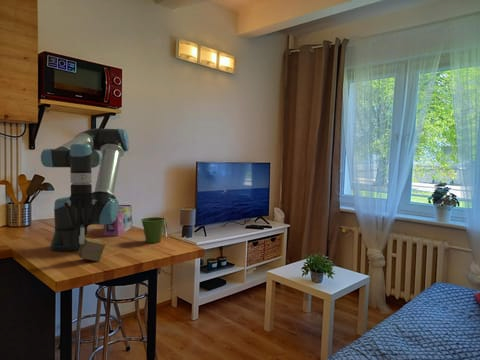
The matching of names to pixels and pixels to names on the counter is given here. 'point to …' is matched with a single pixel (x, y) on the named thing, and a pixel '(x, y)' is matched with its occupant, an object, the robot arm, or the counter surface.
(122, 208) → the gum box
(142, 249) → the counter surface
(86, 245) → the block
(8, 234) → the counter surface
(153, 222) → the plant pot
